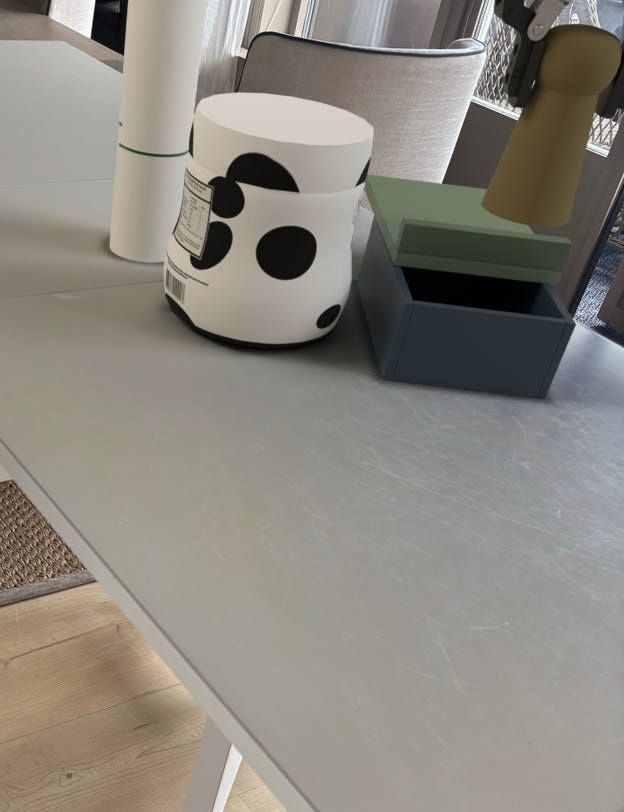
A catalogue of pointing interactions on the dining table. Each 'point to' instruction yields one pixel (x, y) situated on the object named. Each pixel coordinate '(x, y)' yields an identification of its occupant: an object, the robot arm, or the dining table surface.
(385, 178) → the bin lid
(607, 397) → the dining table surface
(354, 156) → the milk container
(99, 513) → the dining table surface
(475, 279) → the bin
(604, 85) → the brown pawn
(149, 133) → the cylindrical container
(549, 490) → the dining table surface
